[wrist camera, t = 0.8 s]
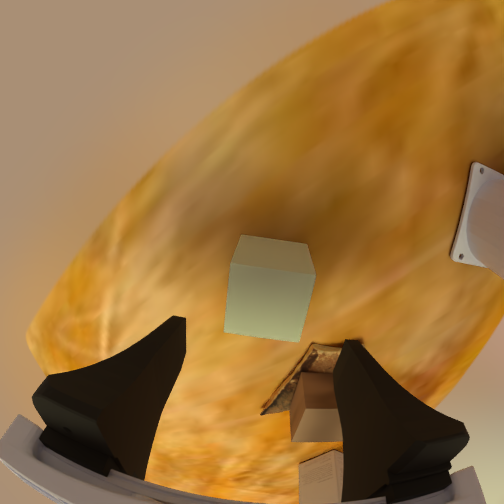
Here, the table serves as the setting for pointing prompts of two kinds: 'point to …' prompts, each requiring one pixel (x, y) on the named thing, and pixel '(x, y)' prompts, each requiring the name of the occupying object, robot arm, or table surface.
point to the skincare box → (321, 479)
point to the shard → (313, 362)
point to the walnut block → (315, 410)
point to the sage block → (269, 288)
